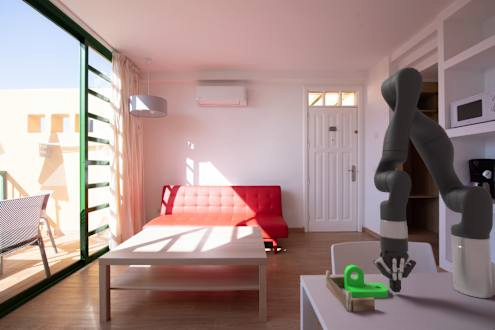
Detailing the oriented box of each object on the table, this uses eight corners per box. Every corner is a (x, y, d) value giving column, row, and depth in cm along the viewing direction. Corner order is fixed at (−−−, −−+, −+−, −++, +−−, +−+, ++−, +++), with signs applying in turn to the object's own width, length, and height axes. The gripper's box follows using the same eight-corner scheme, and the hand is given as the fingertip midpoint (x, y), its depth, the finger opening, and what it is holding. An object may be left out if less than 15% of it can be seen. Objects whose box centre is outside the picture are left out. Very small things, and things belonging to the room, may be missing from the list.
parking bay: (347, 284, 85) (347, 269, 85) (375, 310, 69) (374, 291, 69) (325, 285, 84) (325, 270, 85) (347, 311, 68) (347, 293, 69)
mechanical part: (351, 298, 76) (351, 271, 77) (344, 289, 82) (344, 264, 83) (392, 298, 76) (391, 271, 76) (381, 289, 82) (381, 264, 82)
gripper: (405, 231, 83) (407, 285, 82) (366, 232, 82) (368, 286, 81) (422, 236, 75) (425, 296, 74) (380, 238, 74) (381, 298, 74)
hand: (395, 291), depth 78 cm, fingers closed
